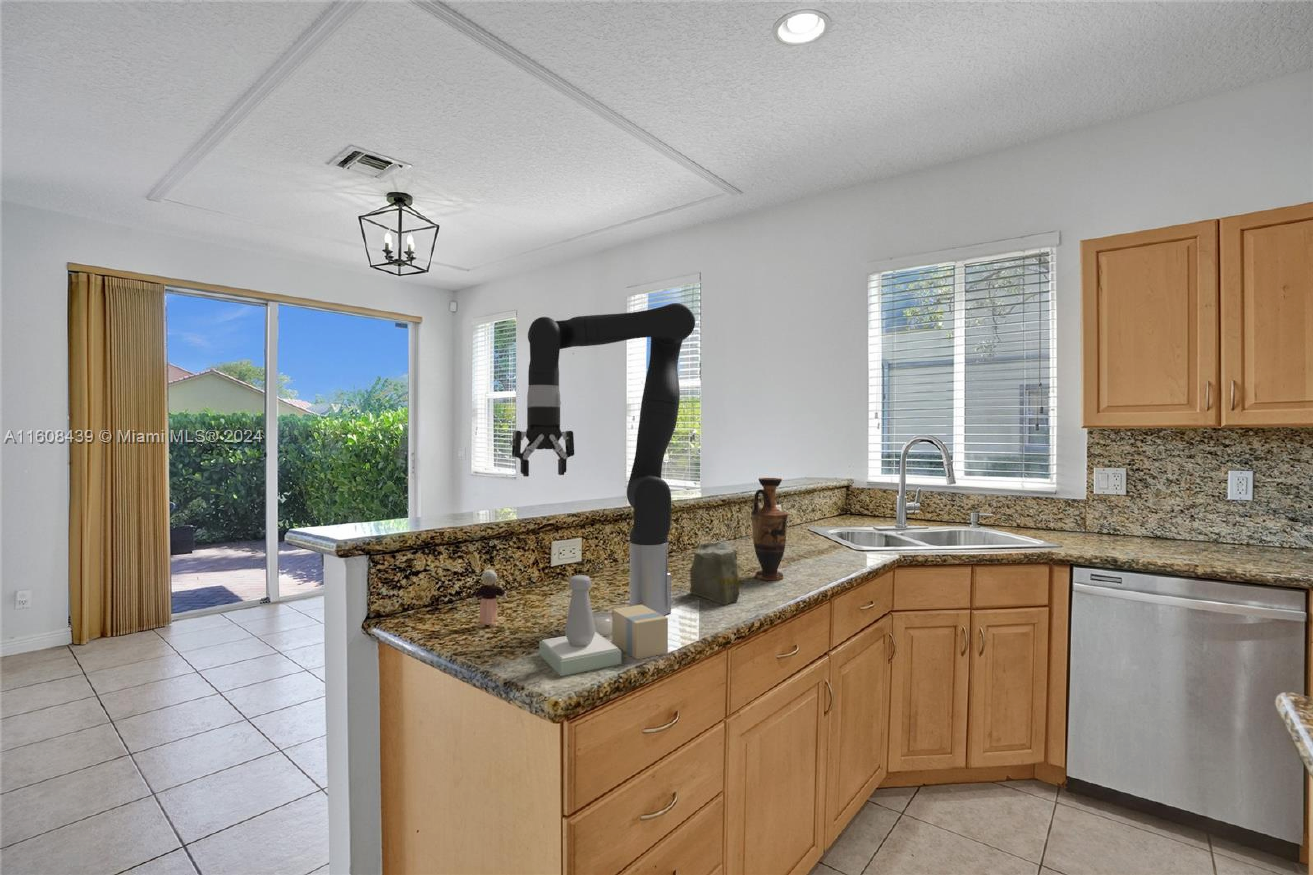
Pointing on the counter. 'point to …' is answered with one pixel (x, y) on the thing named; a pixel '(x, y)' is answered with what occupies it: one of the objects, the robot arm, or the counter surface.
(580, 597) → the salt shaker
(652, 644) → the kraft carton
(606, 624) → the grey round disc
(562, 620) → the counter surface
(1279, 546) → the counter surface
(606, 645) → the podium
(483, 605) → the grandmother figurine
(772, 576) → the vase
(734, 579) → the stone block
